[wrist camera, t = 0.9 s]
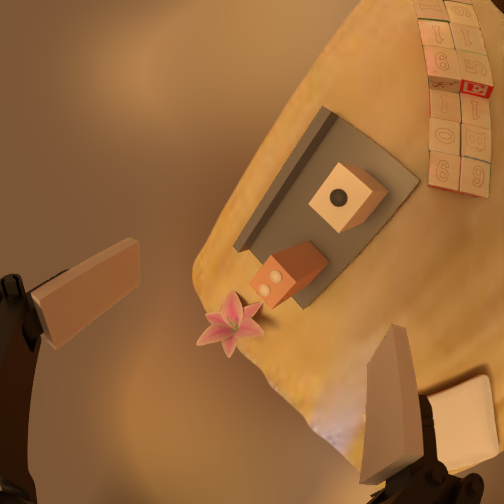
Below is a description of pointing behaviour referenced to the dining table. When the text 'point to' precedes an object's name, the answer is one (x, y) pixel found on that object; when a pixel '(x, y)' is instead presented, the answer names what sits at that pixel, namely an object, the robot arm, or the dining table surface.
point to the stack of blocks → (456, 96)
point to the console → (306, 186)
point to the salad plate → (464, 423)
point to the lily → (231, 324)
